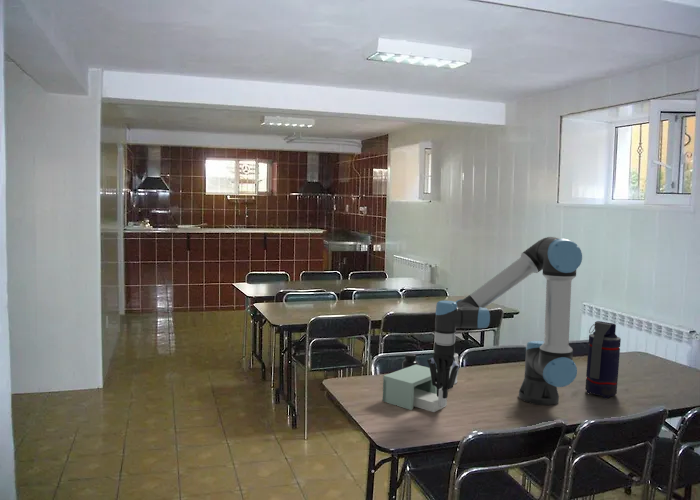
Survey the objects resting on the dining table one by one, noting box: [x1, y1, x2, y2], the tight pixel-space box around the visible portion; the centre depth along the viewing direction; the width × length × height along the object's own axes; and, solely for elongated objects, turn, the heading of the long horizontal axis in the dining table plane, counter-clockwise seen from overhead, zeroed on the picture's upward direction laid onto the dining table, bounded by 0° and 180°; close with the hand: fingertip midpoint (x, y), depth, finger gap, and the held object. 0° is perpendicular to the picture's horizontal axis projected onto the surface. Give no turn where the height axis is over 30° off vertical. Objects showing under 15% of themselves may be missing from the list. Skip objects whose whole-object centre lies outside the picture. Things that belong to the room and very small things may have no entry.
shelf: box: [381, 364, 437, 411], centre depth 227 cm, size 14×22×10 cm, turn 140°
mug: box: [449, 352, 460, 385], centre depth 248 cm, size 12×8×12 cm
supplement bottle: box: [401, 352, 419, 369], centre depth 247 cm, size 7×7×12 cm
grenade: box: [584, 320, 622, 399], centre depth 239 cm, size 14×12×30 cm
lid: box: [413, 388, 448, 413], centre depth 221 cm, size 14×9×4 cm, turn 50°
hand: (441, 405), depth 216 cm, fingers closed
